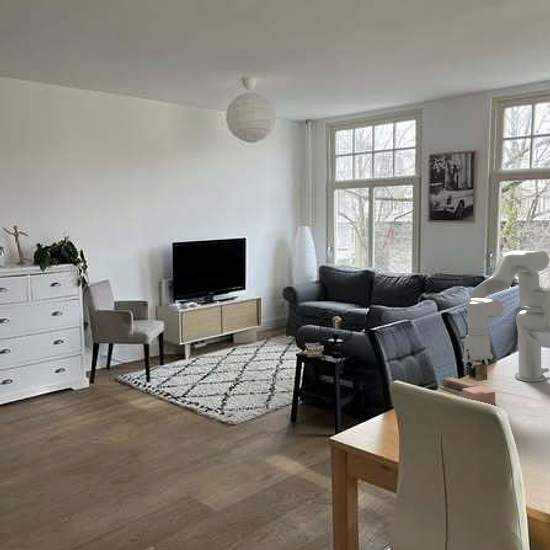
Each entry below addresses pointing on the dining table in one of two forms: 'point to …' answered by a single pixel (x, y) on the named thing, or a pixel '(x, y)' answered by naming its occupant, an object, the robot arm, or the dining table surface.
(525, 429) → the dining table surface
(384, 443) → the dining table surface
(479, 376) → the walnut block
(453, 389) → the packaged product
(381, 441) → the dining table surface
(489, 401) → the base block
